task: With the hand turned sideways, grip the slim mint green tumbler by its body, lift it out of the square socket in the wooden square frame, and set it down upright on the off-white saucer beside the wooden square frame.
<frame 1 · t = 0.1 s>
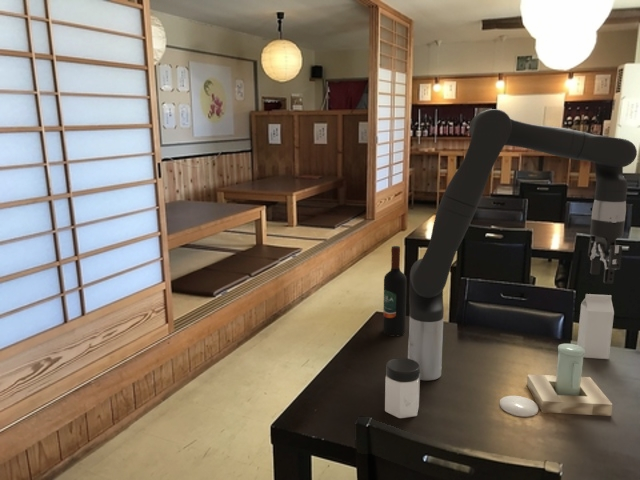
hand: (601, 278, 136), 29 cm above the table, tool pointing down, fingers open, 8 cm apart
saucer: (518, 406, 129), on the table
mint green tumbler: (570, 375, 130), in the wooden square frame
jar: (401, 410, 129), on the table
wine bottle: (394, 332, 177), on the table
wooden square frame: (566, 399, 132), on the table
milk carton: (592, 354, 158), on the table
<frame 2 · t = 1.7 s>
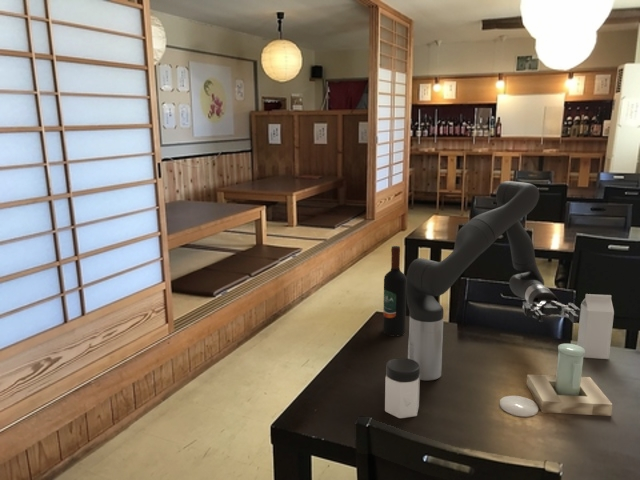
hand: (558, 319, 139), 18 cm above the table, tool horizontal, fingers open, 8 cm apart
nothing on the table moved.
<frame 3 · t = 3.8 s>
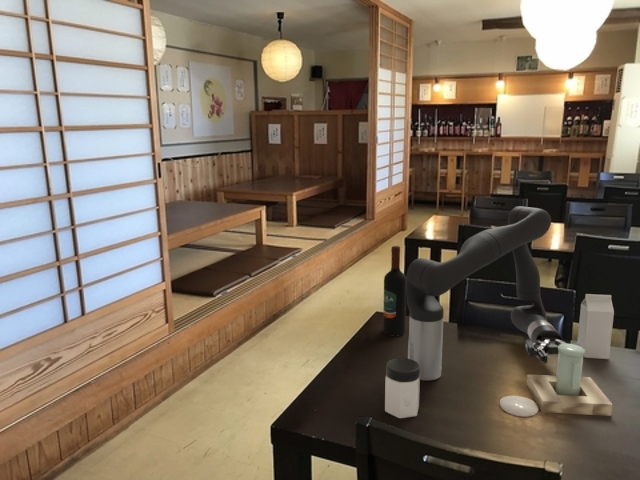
hand: (563, 360, 135), 8 cm above the table, tool horizontal, fingers open, 8 cm apart
nothing on the table moved.
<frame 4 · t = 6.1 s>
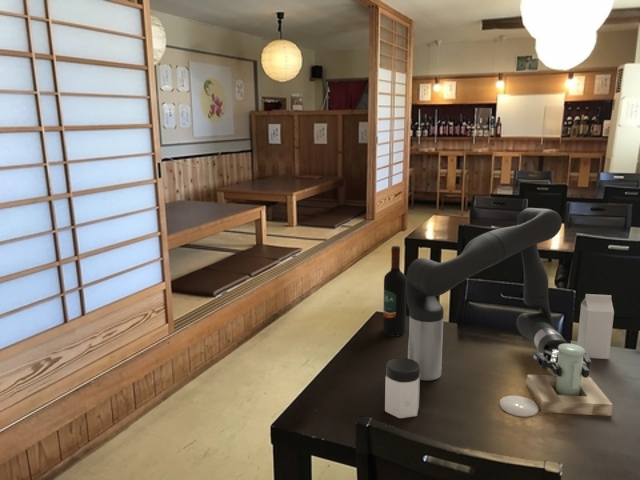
hand: (573, 373, 128), 8 cm above the table, tool horizontal, fingers closed on mint green tumbler, 5 cm apart
mint green tumbler: (570, 375, 130), in the wooden square frame, touching gripper
everything else where it was.
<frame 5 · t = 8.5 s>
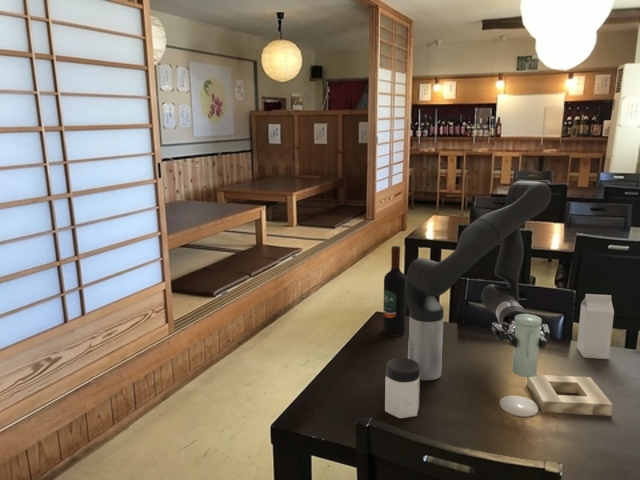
hand: (529, 344, 123), 18 cm above the table, tool horizontal, fingers closed on mint green tumbler, 5 cm apart
mint green tumbler: (527, 346, 125), point 16 cm above the table, touching gripper
everything else where it was.
when the fingers open (10 cm above the table, at t = 10.9 s): mint green tumbler drops 1 cm, resting on saucer.
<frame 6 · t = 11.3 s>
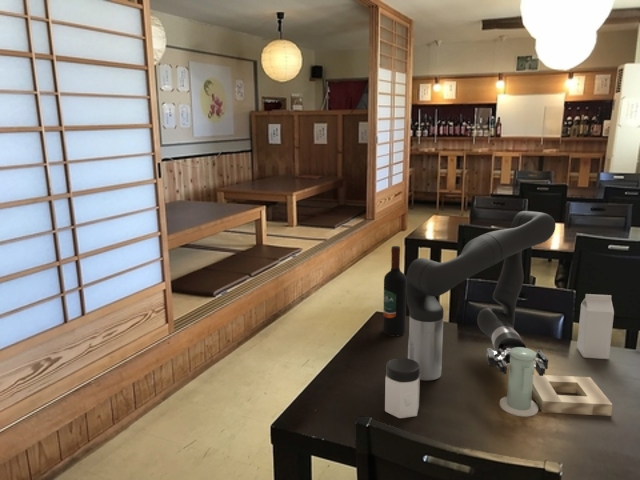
hand: (523, 371, 125), 11 cm above the table, tool horizontal, fingers open, 8 cm apart
mint green tumbler: (521, 380, 127), on the saucer, point 8 cm above the table
everything else where it was.
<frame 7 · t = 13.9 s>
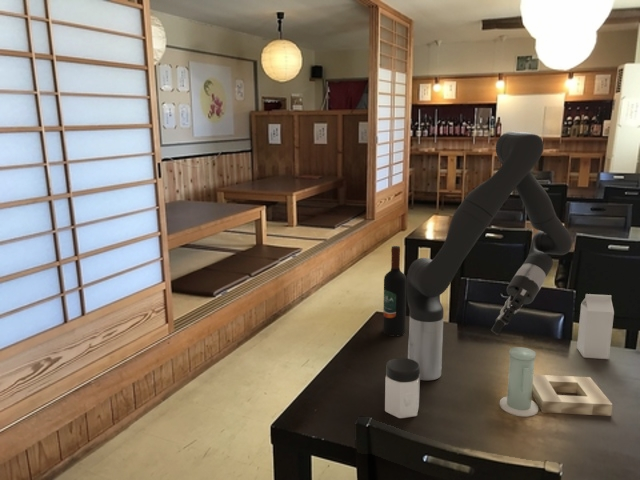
hand: (499, 327, 139), 16 cm above the table, tool tilted 55°, fingers open, 8 cm apart
nothing on the table moved.
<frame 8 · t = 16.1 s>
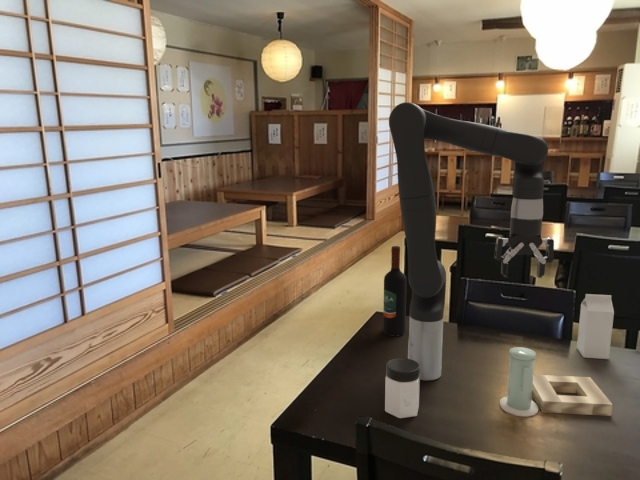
hand: (522, 276, 135), 30 cm above the table, tool pointing down, fingers open, 8 cm apart
nothing on the table moved.
at the end: mint green tumbler 0.2 cm off-centre on the saucer, point 7.6 cm above the saucer's base; mint green tumbler tilted 0°; the gripper is holding nothing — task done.
